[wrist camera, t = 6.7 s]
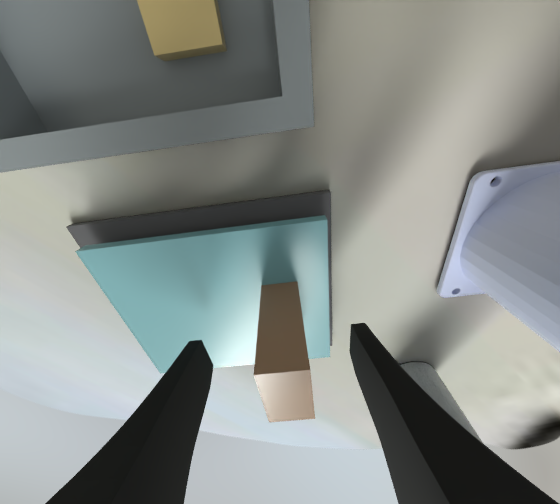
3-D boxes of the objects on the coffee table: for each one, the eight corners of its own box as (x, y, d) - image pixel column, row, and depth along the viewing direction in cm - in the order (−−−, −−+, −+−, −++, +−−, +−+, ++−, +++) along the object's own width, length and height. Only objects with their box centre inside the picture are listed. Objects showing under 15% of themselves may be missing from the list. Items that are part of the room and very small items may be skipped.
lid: (321, 209, 11) (365, 289, 6) (325, 340, 17) (351, 447, 11) (95, 238, 12) (-60, 336, 6) (168, 355, 17) (117, 465, 12)
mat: (328, 189, 11) (330, 192, 11) (330, 341, 17) (332, 345, 17) (72, 224, 12) (66, 226, 12) (160, 358, 18) (158, 362, 18)
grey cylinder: (380, 367, 19) (470, 576, 10) (434, 355, 19) (581, 569, 10) (385, 393, 21) (464, 584, 12) (434, 383, 21) (554, 578, 12)
